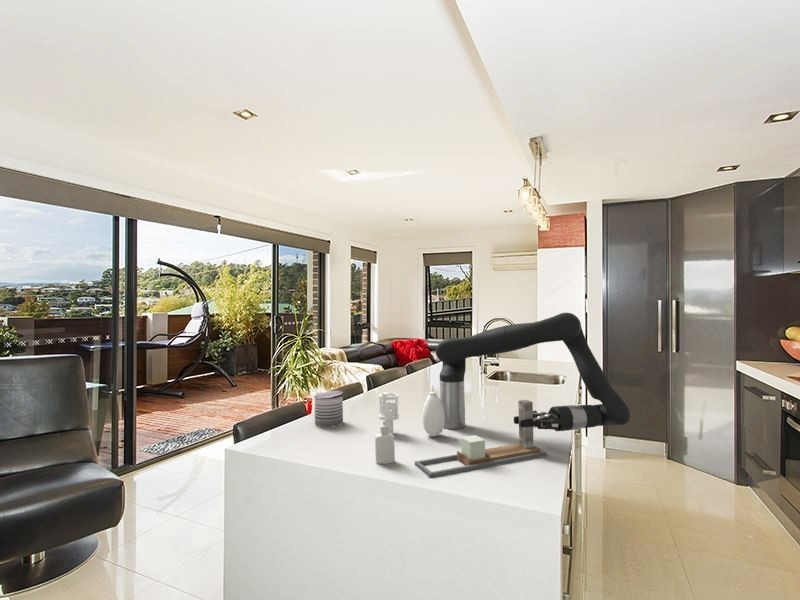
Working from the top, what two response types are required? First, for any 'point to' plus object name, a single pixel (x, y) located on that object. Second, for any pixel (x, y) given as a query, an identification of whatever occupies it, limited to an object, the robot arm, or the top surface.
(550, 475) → the top surface
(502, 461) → the track
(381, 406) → the white tall plastic piece
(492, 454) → the wooden board with post
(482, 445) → the block
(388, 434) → the eye dropper bottle
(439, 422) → the sauce bottle
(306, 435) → the top surface
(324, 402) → the can
